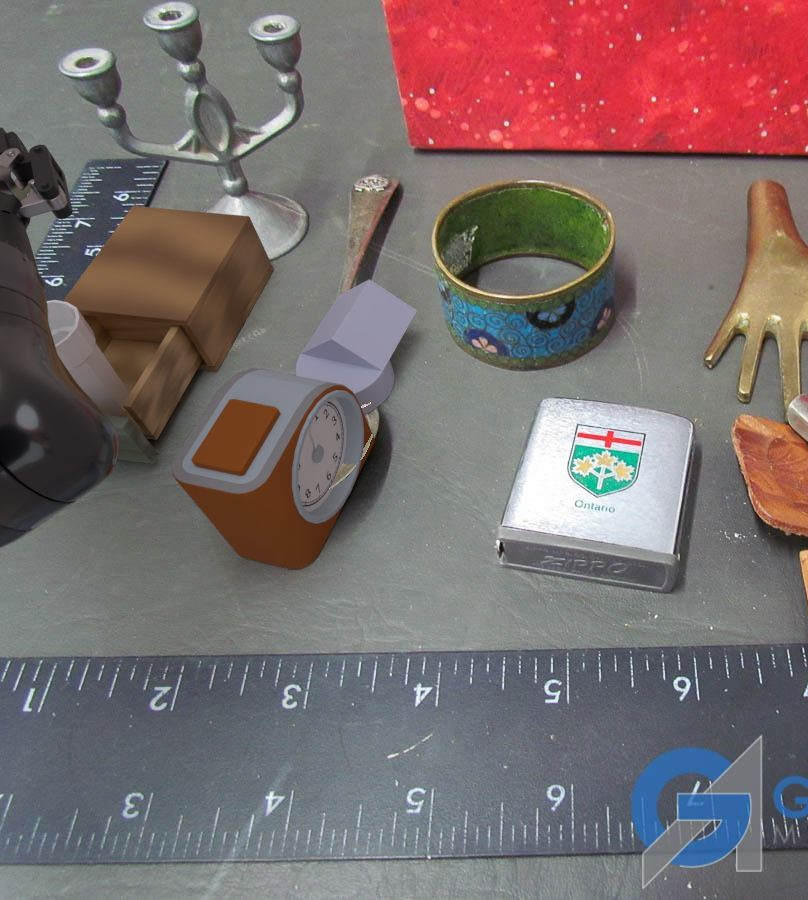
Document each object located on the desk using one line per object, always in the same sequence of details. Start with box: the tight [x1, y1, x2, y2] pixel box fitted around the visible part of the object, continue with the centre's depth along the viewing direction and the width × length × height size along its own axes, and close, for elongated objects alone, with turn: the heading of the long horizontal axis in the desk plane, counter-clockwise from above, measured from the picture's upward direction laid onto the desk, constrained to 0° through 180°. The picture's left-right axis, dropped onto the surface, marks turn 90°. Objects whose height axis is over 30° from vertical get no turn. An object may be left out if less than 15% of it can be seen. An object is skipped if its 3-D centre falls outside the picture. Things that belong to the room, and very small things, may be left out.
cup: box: [47, 299, 130, 417], centre depth 77 cm, size 7×7×11 cm
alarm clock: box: [171, 367, 376, 570], centre depth 71 cm, size 15×8×14 cm, turn 166°
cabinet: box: [62, 205, 275, 372], centre depth 88 cm, size 16×14×8 cm
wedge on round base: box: [295, 279, 418, 415], centre depth 83 cm, size 9×7×13 cm
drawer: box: [82, 315, 203, 464], centre depth 80 cm, size 16×12×6 cm
